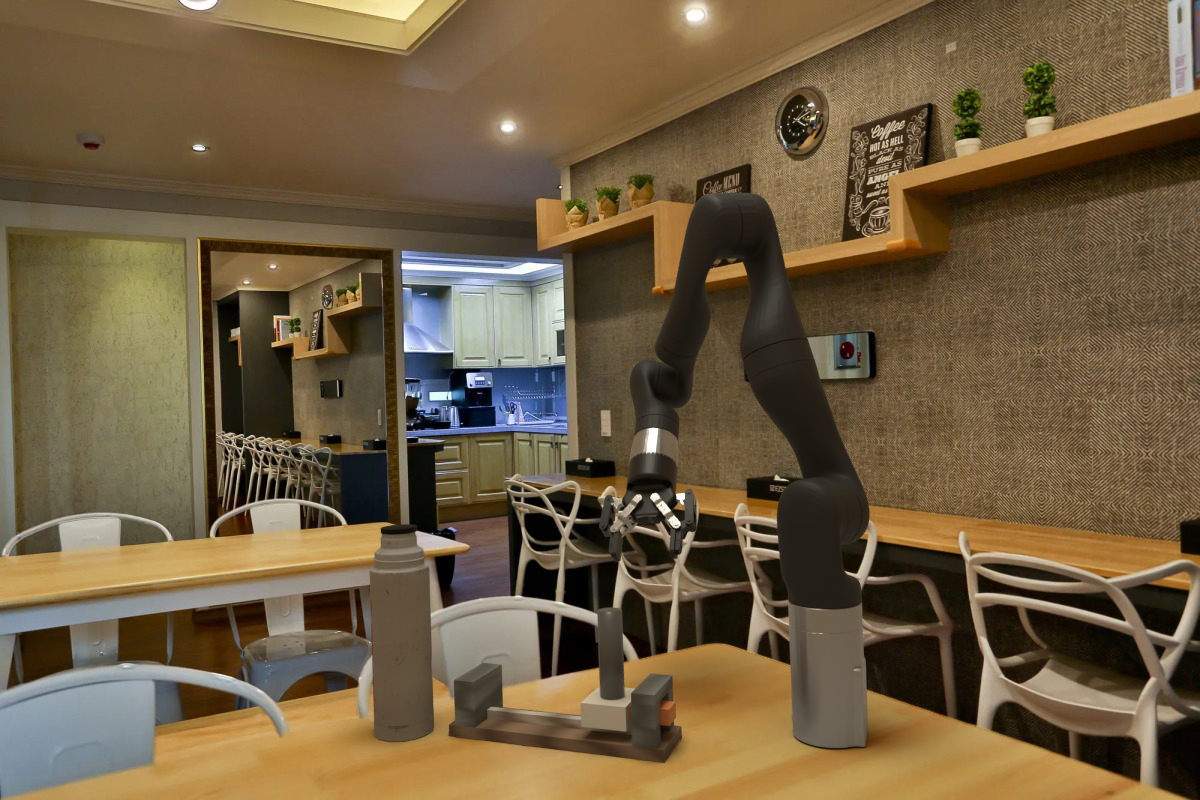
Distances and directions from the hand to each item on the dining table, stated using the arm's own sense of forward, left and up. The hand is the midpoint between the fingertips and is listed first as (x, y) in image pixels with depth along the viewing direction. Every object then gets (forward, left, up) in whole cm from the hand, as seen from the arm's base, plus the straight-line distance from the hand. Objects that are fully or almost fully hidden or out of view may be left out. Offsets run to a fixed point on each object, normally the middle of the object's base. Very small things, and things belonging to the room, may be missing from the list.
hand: (644, 557), depth 121 cm
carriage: (+1, +13, -19) cm, 23 cm away
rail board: (+8, +13, -22) cm, 26 cm away
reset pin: (-5, +13, -18) cm, 23 cm away
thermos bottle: (+30, +17, -22) cm, 41 cm away
